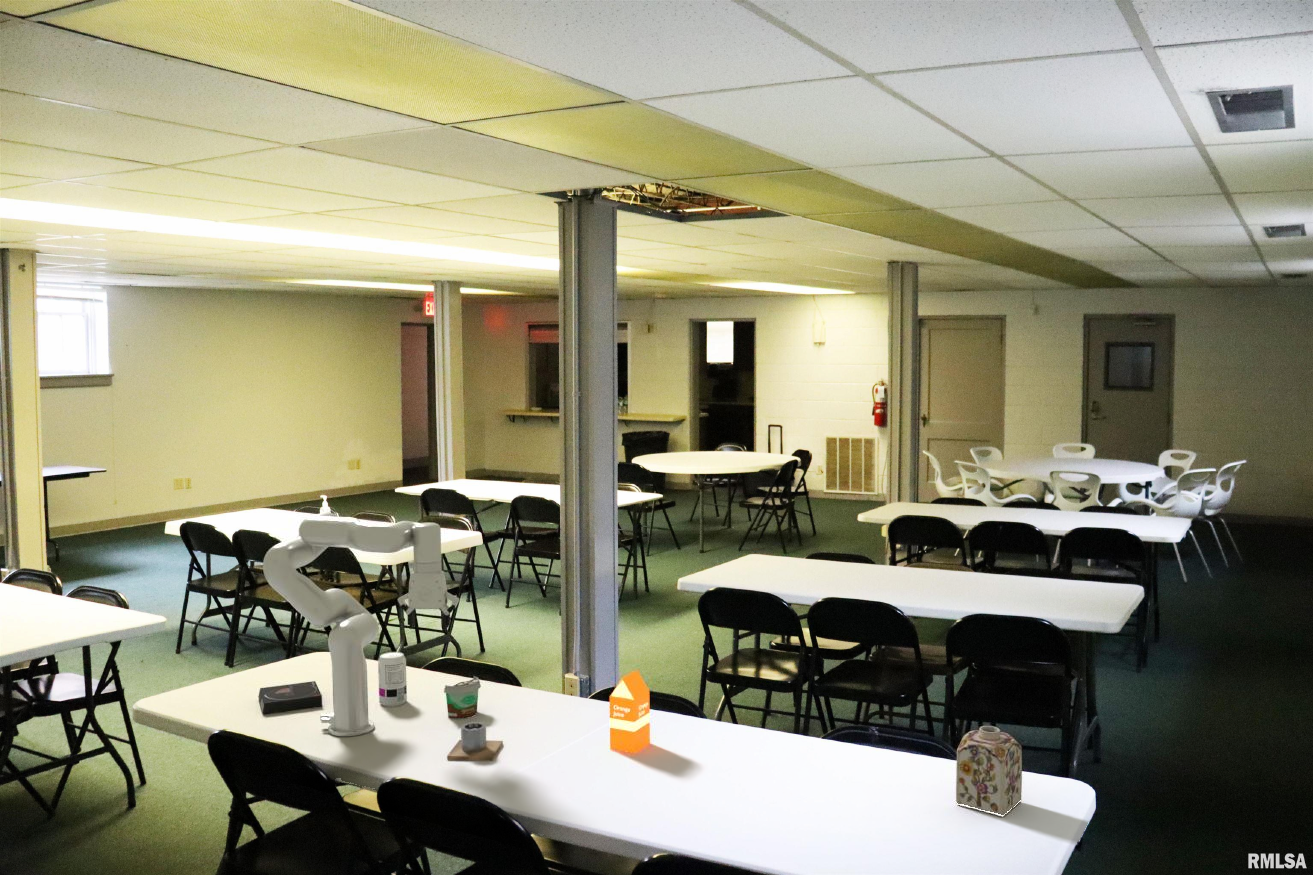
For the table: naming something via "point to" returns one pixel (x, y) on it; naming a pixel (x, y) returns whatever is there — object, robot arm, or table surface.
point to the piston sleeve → (473, 737)
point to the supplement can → (392, 679)
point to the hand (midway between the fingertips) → (429, 627)
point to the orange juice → (630, 714)
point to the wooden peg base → (484, 755)
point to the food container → (462, 699)
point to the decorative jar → (989, 770)
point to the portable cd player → (290, 697)
